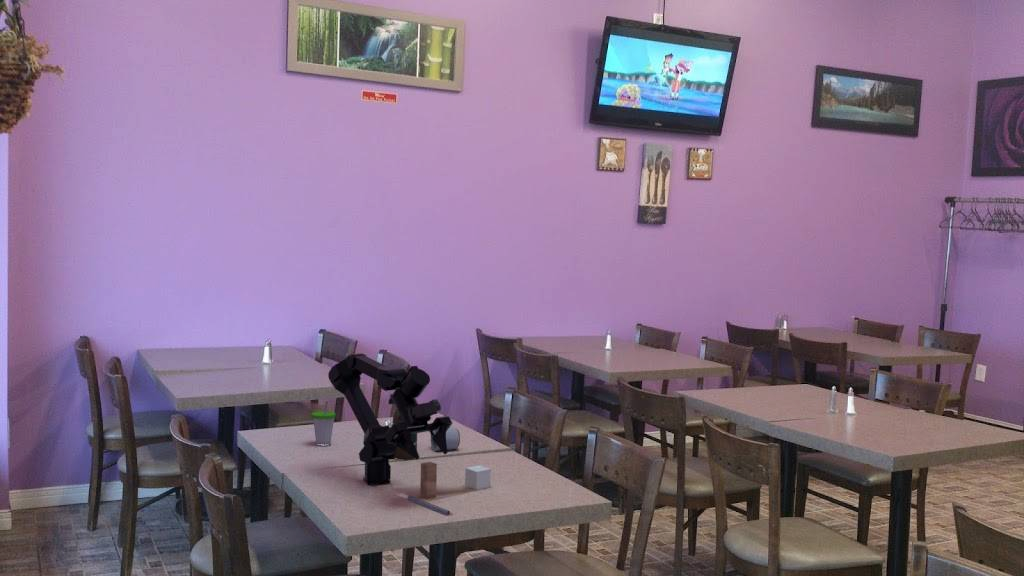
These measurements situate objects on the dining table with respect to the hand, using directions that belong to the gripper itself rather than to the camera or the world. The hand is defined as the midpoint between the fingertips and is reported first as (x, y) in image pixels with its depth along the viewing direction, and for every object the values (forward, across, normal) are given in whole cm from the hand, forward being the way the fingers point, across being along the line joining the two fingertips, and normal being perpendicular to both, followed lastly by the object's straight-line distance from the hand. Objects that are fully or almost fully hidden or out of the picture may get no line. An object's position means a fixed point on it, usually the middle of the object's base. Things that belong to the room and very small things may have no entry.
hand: (432, 456), depth 251 cm
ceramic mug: (-23, +39, +41) cm, 61 cm away
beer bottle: (-22, +22, +40) cm, 51 cm away
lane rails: (+11, +9, +7) cm, 16 cm away
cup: (-43, +11, +60) cm, 75 cm away
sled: (+8, +9, +10) cm, 15 cm away
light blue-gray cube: (+7, +17, +9) cm, 20 cm away
